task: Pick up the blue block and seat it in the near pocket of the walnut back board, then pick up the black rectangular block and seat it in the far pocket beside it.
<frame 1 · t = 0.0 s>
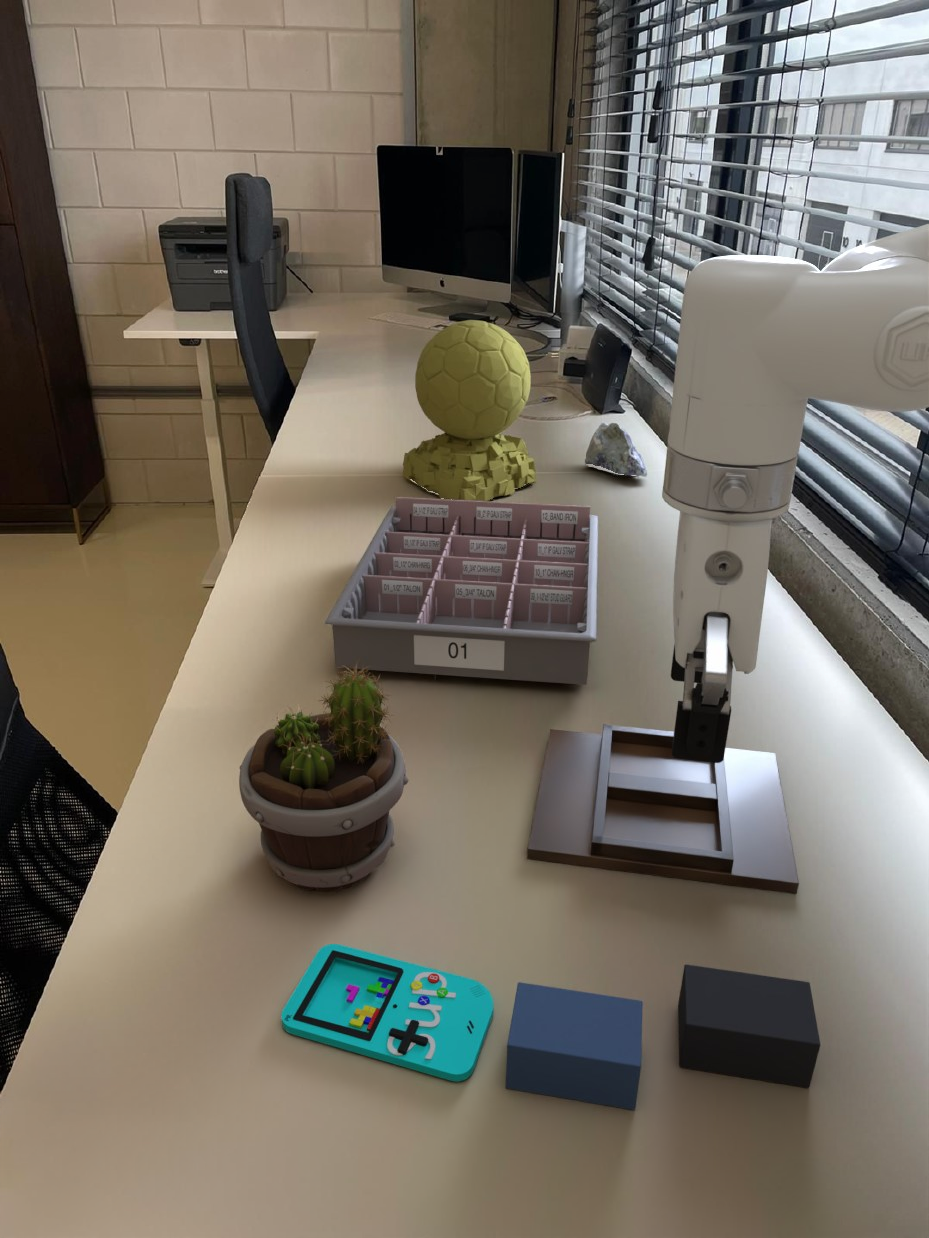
hand: (694, 716, 65), 24 cm above the table, tool pointing down, fingers open, 9 cm apart
blue block: (572, 1065, 68), on the table
mineral rock: (614, 475, 186), on the table
black rectangular block: (740, 1045, 70), on the table
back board: (659, 806, 94), on the table
handheld gaming console: (391, 1012, 72), on the table
flowerpot: (329, 856, 88), on the table
organizer tray: (477, 616, 131), on the table
trophy: (470, 483, 181), on the table
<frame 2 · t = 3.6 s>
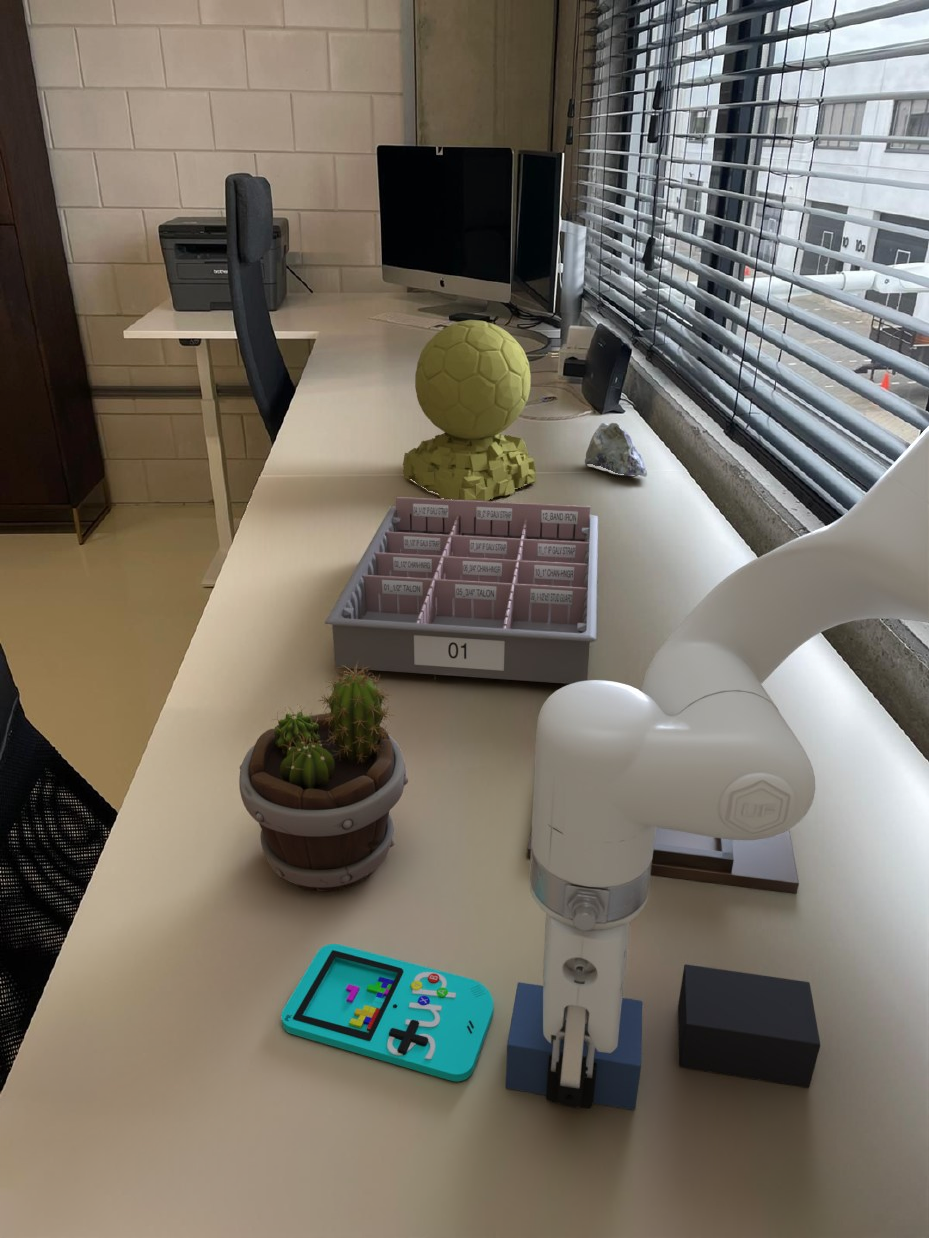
hand: (573, 1060, 68), 1 cm above the table, tool pointing down, fingers closed on blue block, 5 cm apart
blue block: (572, 1065, 68), on the table, touching gripper
everything else where it was.
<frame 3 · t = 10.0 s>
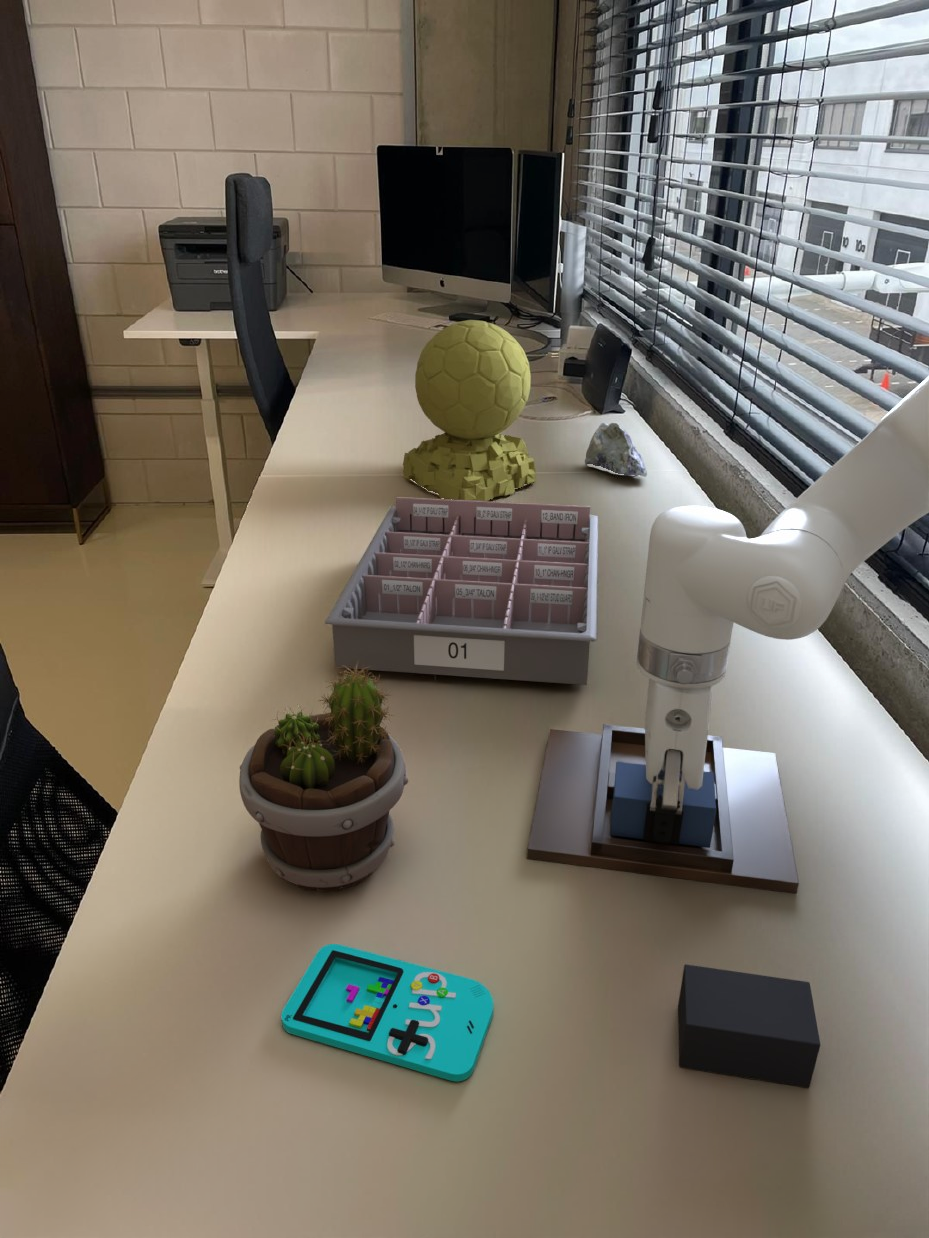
hand: (660, 818, 89), 3 cm above the table, tool pointing down, fingers closed on blue block, 5 cm apart
blue block: (659, 822, 89), point 2 cm above the table, touching gripper
everything else where it was.
when the fingers open (3 cm above the table, at t = 13.0 s): blue block stays where it is, resting on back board.
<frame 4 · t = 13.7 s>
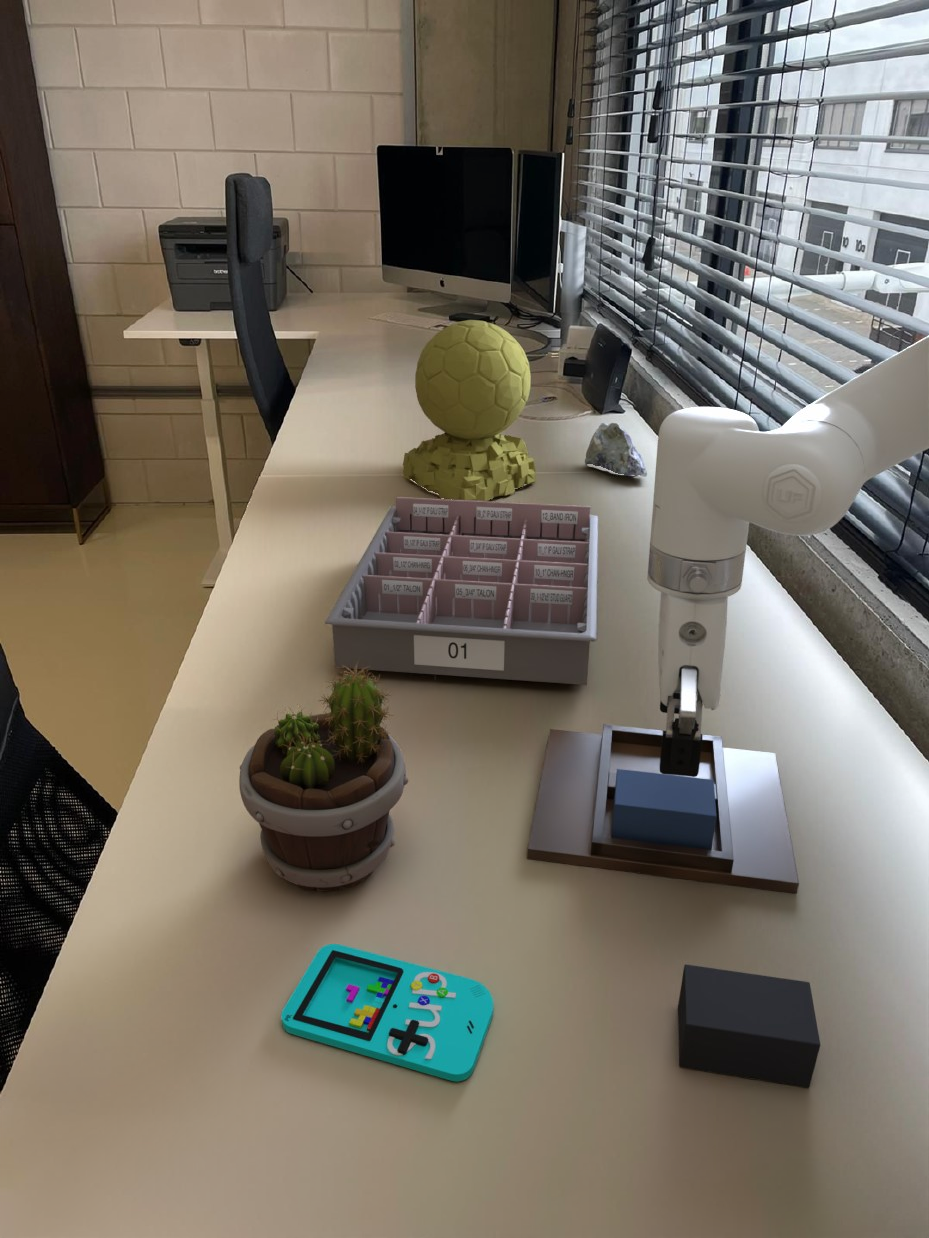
hand: (677, 741, 84), 12 cm above the table, tool pointing down, fingers open, 9 cm apart
blue block: (660, 829, 89), point 1 cm above the table, touching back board
everything else where it was.
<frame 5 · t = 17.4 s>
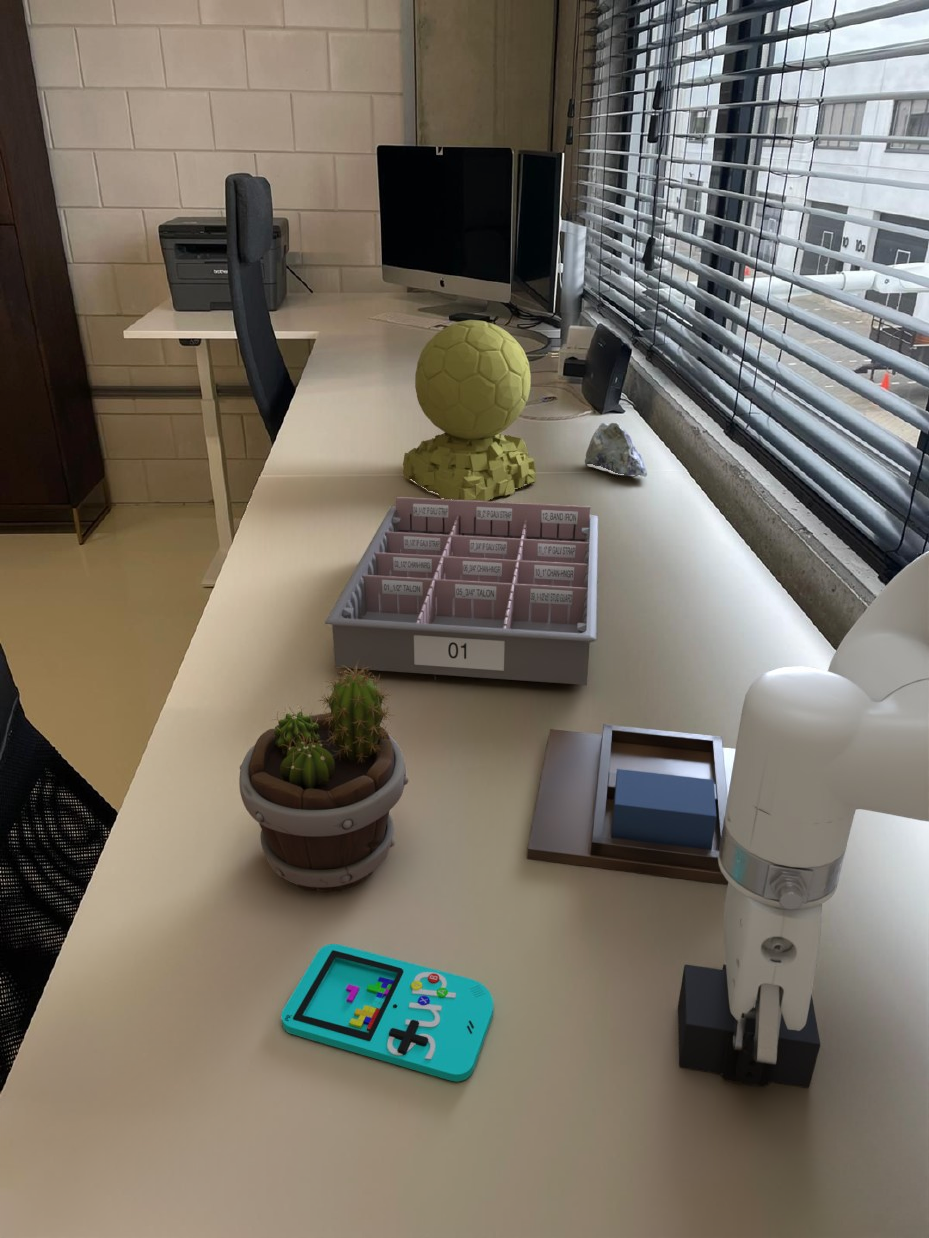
hand: (741, 1040, 69), 1 cm above the table, tool pointing down, fingers closed on black rectangular block, 5 cm apart
black rectangular block: (740, 1045, 70), on the table, touching gripper
everything else where it was.
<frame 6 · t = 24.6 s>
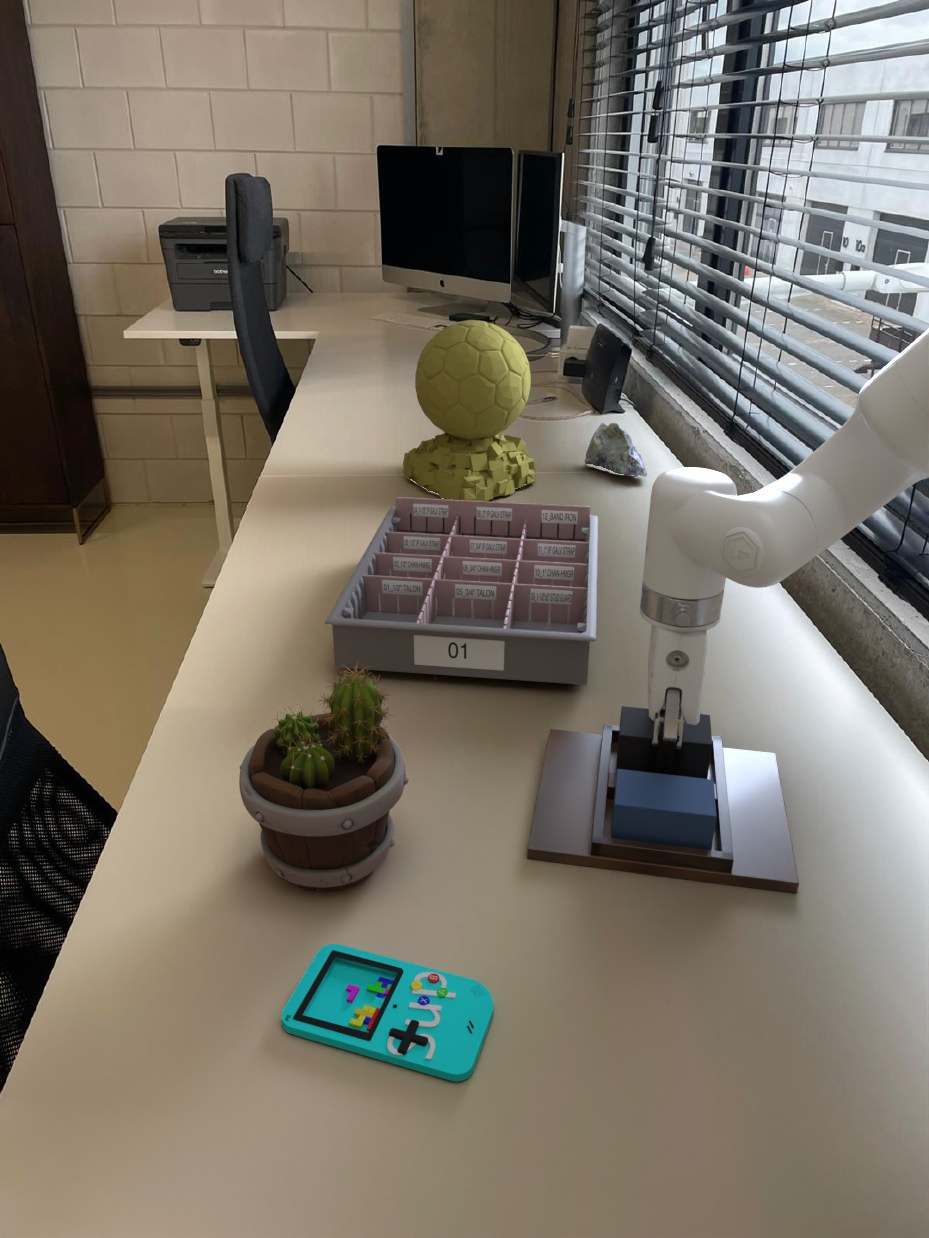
hand: (662, 756, 97), 3 cm above the table, tool pointing down, fingers closed on black rectangular block, 5 cm apart
black rectangular block: (661, 761, 97), point 2 cm above the table, touching gripper
everything else where it was.
when the fingers open (3 cm above the table, at t = 27.4 s): black rectangular block stays where it is, resting on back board.
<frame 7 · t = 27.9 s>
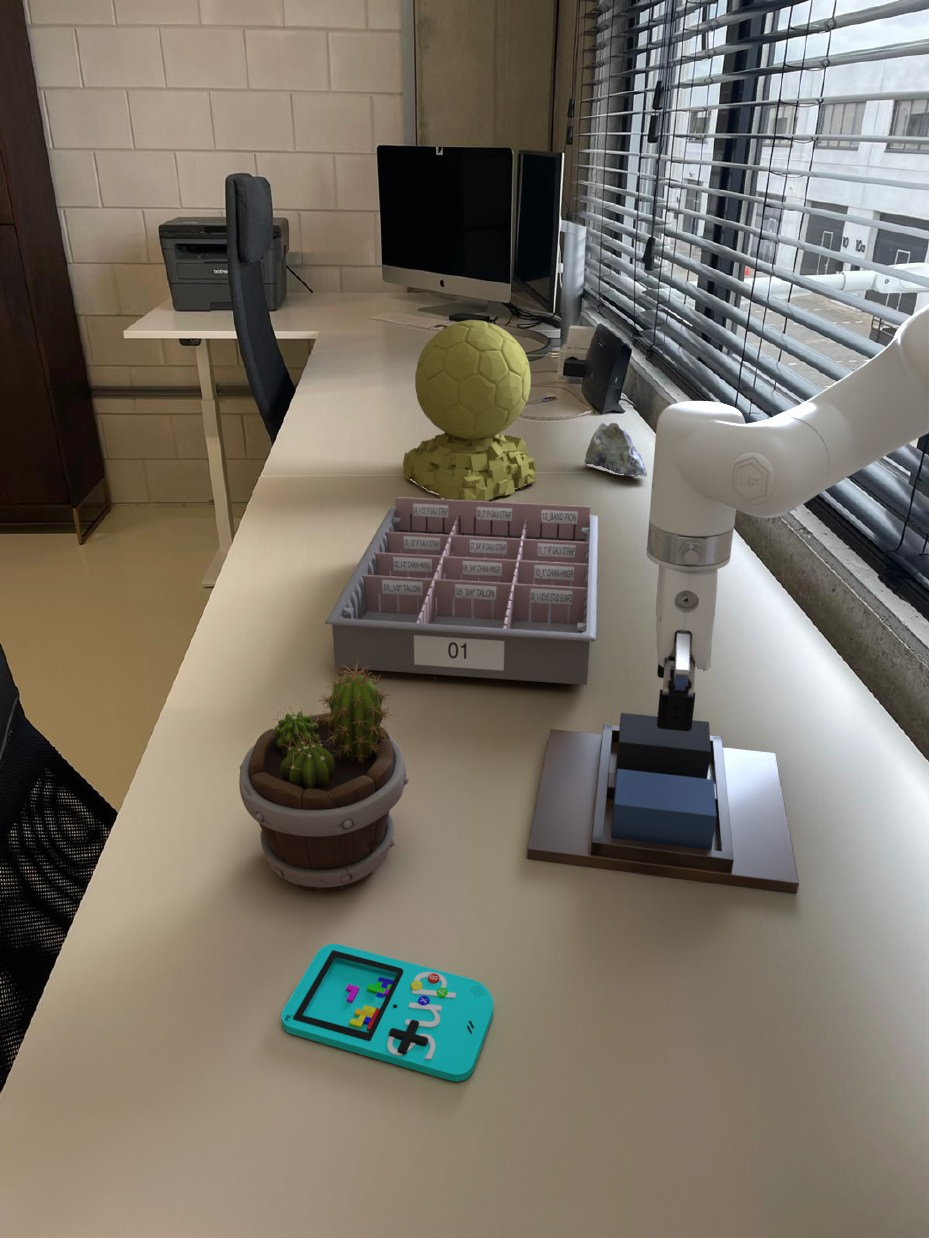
hand: (673, 701, 94), 9 cm above the table, tool pointing down, fingers open, 9 cm apart
black rectangular block: (660, 767, 98), point 1 cm above the table, touching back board
everything else where it was.
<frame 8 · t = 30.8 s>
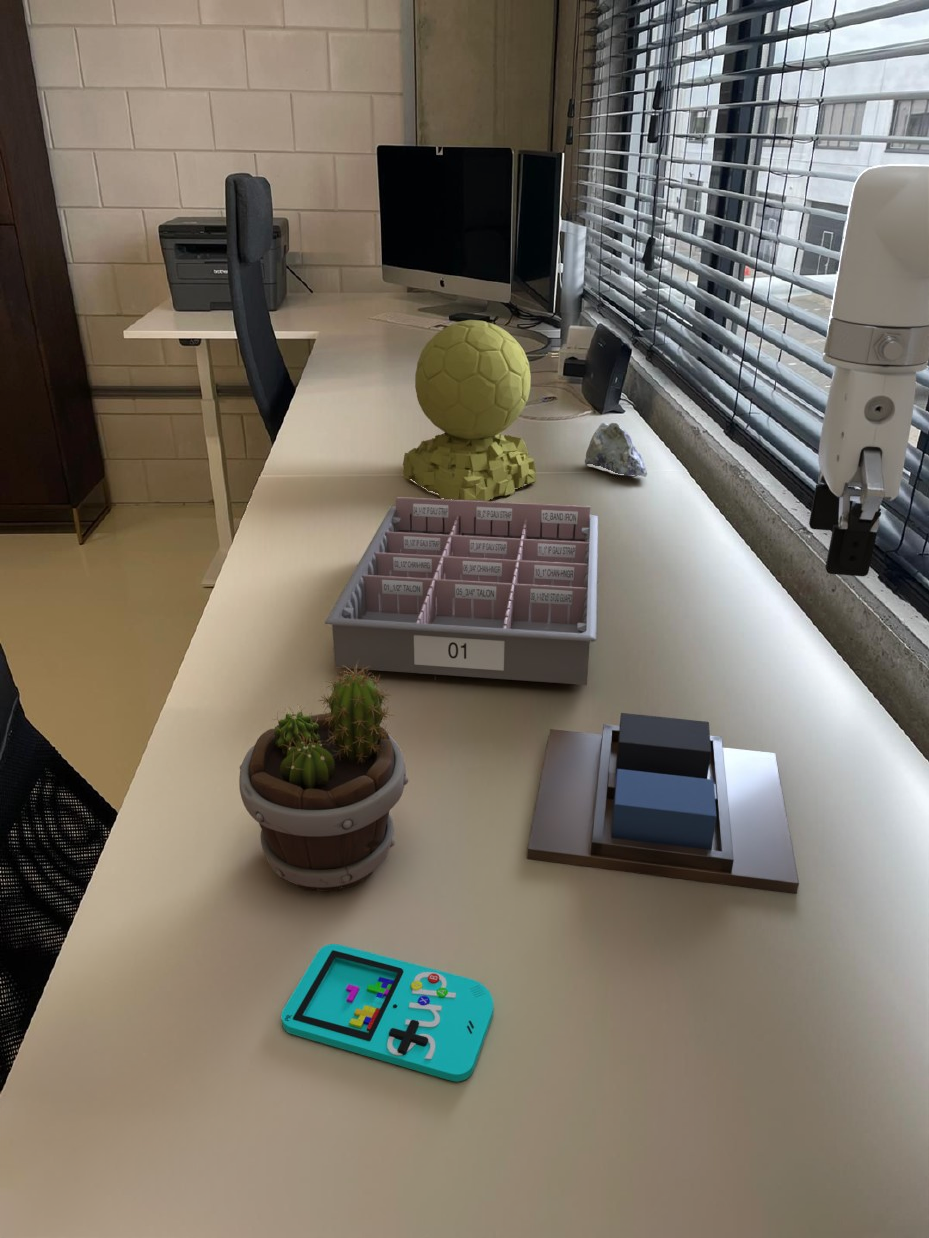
hand: (836, 550, 80), 28 cm above the table, tool pointing down, fingers open, 9 cm apart
nothing on the table moved.
at the end: blue block 0.0 cm from the target spot on the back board, point 1.2 cm above the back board's base; black rectangular block 0.0 cm from the target spot on the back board, point 1.2 cm above the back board's base; black rectangular block tilted 0° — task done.
